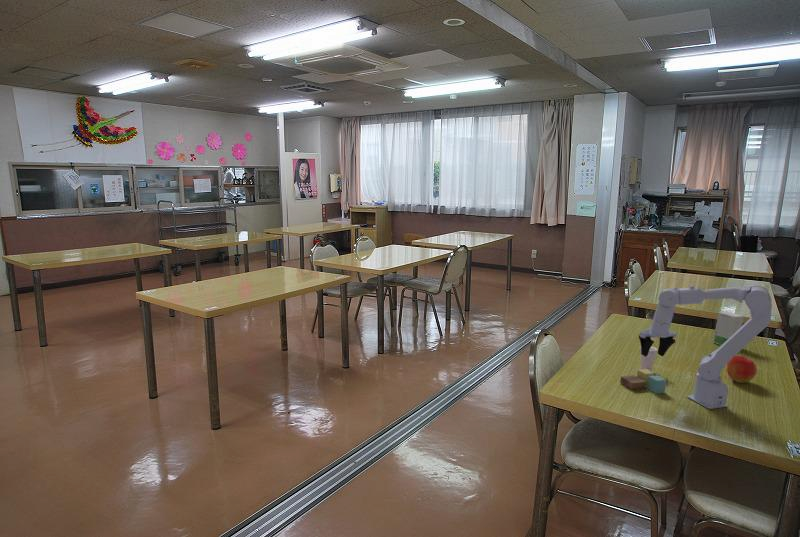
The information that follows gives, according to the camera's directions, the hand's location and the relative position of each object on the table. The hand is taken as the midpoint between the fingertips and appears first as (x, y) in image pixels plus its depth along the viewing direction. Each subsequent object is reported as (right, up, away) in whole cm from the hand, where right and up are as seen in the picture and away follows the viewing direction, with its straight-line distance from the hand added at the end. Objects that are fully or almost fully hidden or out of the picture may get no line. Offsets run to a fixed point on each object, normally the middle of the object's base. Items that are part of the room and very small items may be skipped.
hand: (652, 355), depth 173 cm
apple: (+38, -12, +9) cm, 41 cm away
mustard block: (0, -12, +5) cm, 13 cm away
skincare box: (+61, -4, +49) cm, 78 cm away
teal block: (+1, -13, -1) cm, 13 cm away
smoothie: (+7, -10, +17) cm, 21 cm away
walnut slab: (-6, -12, +3) cm, 14 cm away
